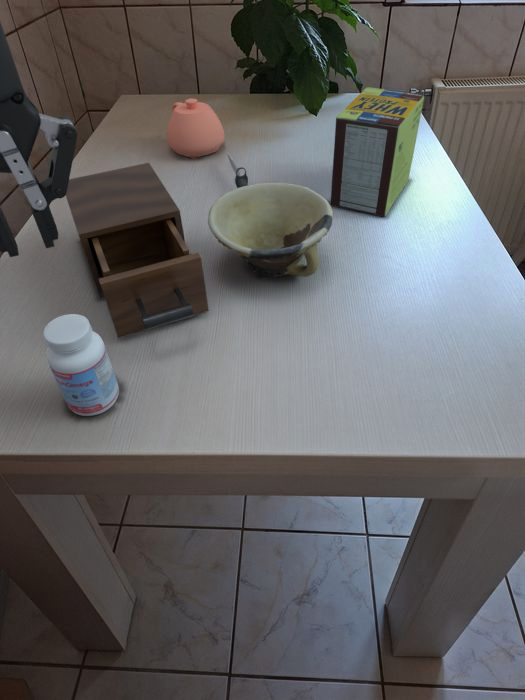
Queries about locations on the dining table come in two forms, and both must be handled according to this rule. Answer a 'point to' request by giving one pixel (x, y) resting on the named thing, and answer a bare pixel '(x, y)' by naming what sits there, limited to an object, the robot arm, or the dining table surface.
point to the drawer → (149, 277)
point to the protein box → (374, 149)
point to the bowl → (272, 226)
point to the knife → (238, 174)
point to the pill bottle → (80, 365)
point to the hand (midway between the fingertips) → (31, 247)
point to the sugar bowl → (194, 129)
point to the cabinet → (118, 206)
